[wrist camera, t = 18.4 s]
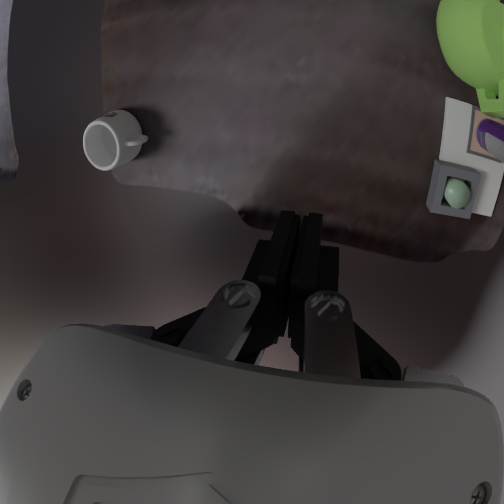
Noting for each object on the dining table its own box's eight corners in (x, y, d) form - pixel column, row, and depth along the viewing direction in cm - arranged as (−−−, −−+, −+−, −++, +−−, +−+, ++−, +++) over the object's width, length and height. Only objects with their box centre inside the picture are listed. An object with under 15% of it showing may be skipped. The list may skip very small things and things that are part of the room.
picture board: (439, 94, 24) (448, 97, 22) (509, 119, 21) (520, 124, 18) (424, 201, 34) (430, 212, 31) (489, 214, 30) (497, 224, 28)
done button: (443, 172, 29) (450, 180, 27) (464, 176, 28) (472, 185, 26) (437, 196, 32) (444, 206, 29) (458, 200, 31) (466, 210, 28)
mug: (107, 159, 44) (85, 172, 39) (101, 110, 38) (77, 119, 33) (158, 162, 42) (137, 177, 37) (155, 106, 36) (131, 114, 31)
